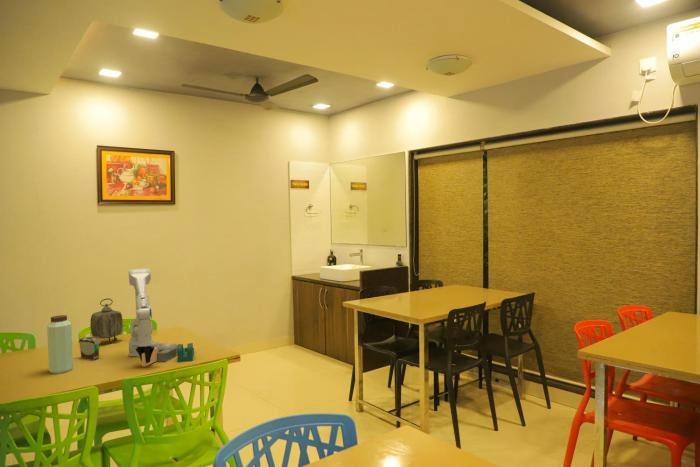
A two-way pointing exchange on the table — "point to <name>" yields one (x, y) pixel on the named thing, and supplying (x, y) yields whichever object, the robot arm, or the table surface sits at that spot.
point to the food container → (89, 348)
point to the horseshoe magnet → (166, 352)
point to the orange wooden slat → (153, 357)
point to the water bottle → (60, 344)
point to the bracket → (185, 353)
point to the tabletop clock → (106, 323)
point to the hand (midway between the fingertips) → (145, 362)
